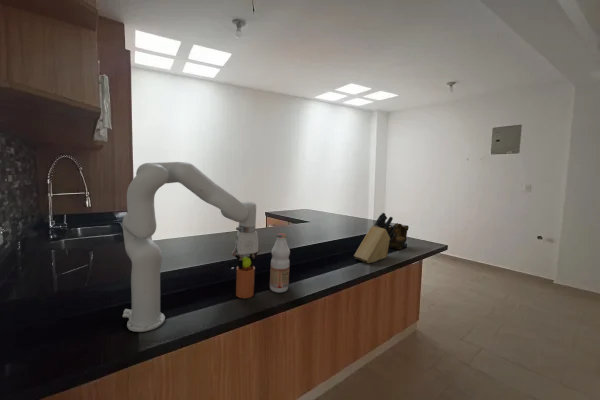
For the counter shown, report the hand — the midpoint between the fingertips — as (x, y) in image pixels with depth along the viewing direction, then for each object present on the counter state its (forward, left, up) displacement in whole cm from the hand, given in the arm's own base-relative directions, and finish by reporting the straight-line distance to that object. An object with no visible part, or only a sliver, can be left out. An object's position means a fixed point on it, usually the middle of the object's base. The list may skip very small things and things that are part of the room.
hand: (245, 266), depth 136 cm
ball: (0, 0, +2) cm, 2 cm away
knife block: (+74, +71, -14) cm, 104 cm away
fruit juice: (+15, +9, -14) cm, 22 cm away
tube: (0, 0, -14) cm, 14 cm away
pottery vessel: (+96, +102, -14) cm, 141 cm away
